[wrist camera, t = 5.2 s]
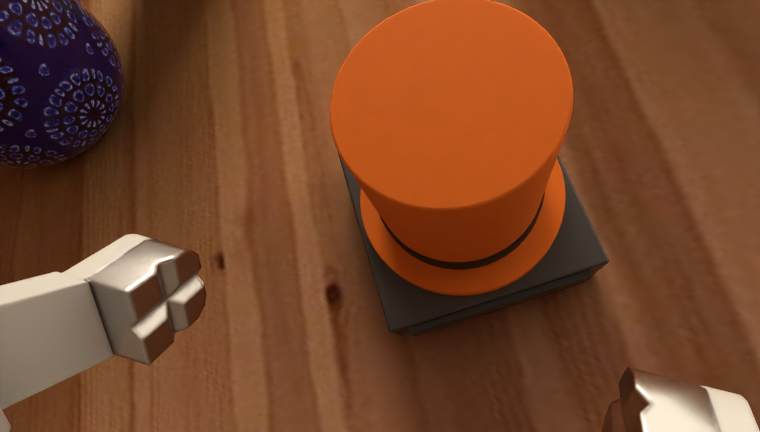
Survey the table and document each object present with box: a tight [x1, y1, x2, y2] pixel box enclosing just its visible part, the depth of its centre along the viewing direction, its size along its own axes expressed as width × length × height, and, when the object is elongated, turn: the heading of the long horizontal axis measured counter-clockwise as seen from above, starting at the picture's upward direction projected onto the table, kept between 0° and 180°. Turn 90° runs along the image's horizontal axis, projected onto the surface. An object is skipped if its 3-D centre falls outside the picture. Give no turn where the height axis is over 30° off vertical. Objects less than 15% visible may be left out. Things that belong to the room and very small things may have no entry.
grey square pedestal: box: [338, 153, 609, 336], centre depth 21 cm, size 9×9×2 cm
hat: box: [330, 0, 573, 296], centre depth 16 cm, size 8×8×8 cm
